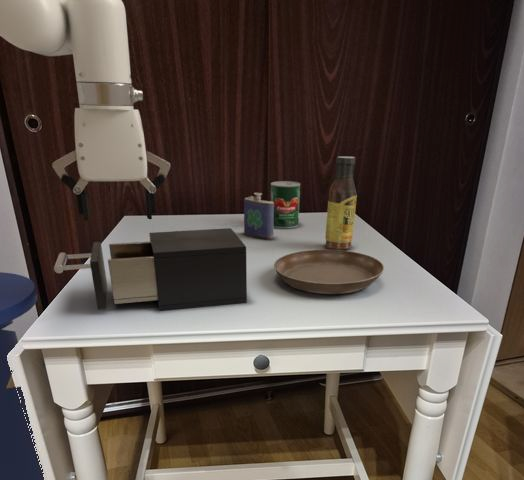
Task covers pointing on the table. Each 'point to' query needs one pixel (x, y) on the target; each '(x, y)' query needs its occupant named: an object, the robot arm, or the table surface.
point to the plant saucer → (328, 271)
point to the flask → (258, 217)
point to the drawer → (119, 272)
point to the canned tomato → (285, 204)
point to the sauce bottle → (341, 206)
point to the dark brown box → (199, 268)
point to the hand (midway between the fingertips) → (118, 218)
